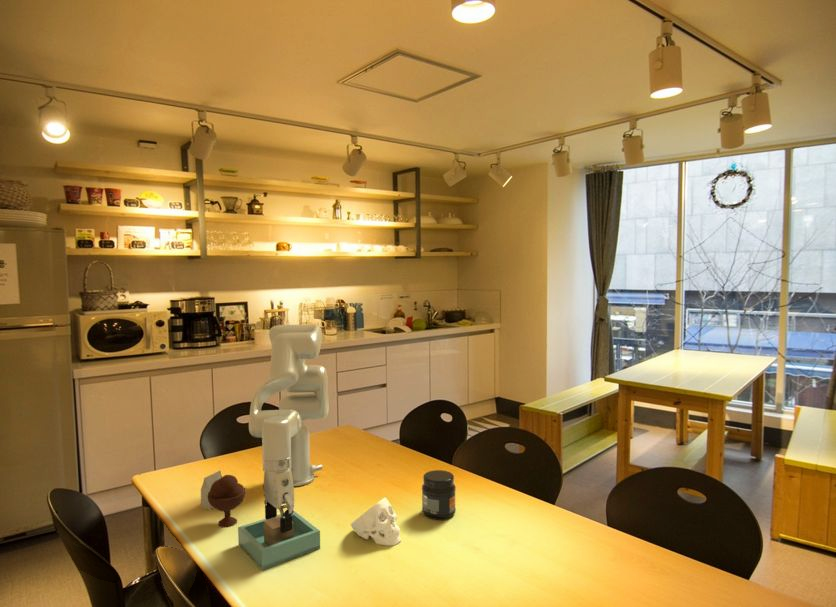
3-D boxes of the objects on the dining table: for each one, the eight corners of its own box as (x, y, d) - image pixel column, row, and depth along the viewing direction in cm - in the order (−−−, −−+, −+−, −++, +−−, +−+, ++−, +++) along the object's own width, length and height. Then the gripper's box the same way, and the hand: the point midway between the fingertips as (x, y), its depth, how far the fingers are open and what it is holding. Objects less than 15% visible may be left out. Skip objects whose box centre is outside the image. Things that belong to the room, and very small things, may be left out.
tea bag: (225, 501, 174) (224, 471, 173) (210, 509, 168) (209, 478, 167) (216, 499, 175) (215, 470, 175) (201, 507, 169) (200, 477, 169)
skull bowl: (394, 548, 140) (373, 505, 143) (359, 563, 147) (340, 522, 150) (414, 531, 149) (394, 491, 152) (380, 546, 156) (362, 507, 159)
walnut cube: (284, 535, 149) (284, 514, 148) (293, 543, 144) (293, 522, 144) (264, 542, 145) (263, 521, 145) (273, 551, 140) (272, 529, 140)
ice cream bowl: (254, 517, 162) (252, 469, 161) (230, 534, 151) (228, 483, 151) (225, 512, 165) (224, 465, 165) (200, 528, 155) (198, 478, 154)
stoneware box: (293, 526, 156) (292, 510, 156) (320, 548, 143) (319, 530, 143) (238, 544, 146) (238, 527, 145) (262, 570, 133) (261, 551, 133)
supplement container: (460, 509, 167) (460, 472, 166) (448, 523, 157) (448, 484, 156) (430, 503, 171) (429, 467, 170) (416, 517, 161) (416, 478, 161)
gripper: (304, 468, 139) (305, 531, 140) (276, 451, 152) (278, 509, 153) (277, 475, 134) (279, 541, 135) (251, 457, 147) (252, 517, 148)
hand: (278, 524), depth 144 cm, fingers open, 9 cm apart
